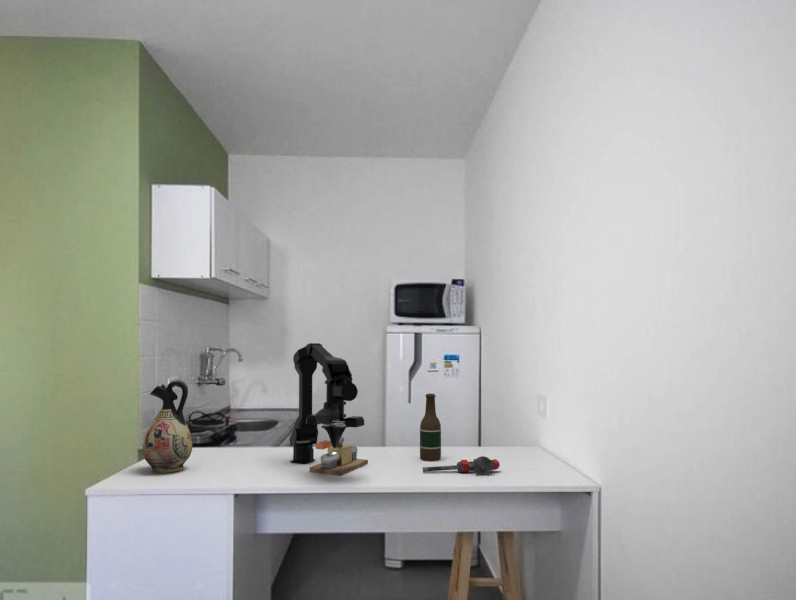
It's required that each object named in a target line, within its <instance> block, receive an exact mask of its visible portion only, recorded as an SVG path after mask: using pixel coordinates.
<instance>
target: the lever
mask: <svg viewBox="0 0 796 600" xmlns="http://www.w3.org/2000/svg"><path fill="white" fill-rule="evenodd" d="M339 442H343V443H344V442H345V437H343V436H341V439H340V441H339ZM329 447H332V443H331V440H330V439H329V440H328V439H327V440H326V439H325V440H321V441H319V442H318V441H317V443H316V444H315V449H316V450H326V449H328V448H329Z"/></svg>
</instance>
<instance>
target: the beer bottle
mask: <svg viewBox="0 0 796 600" xmlns="http://www.w3.org/2000/svg"><path fill="white" fill-rule="evenodd" d="M436 397H437V395H436V394H435V393H427V394H425V398H426V399H425V410H424V411H425V413H424V416H423V418H422V419H421V421H420V425H419V459H420V460H421V461H424V462H438V461H440V460H441V459H442V428H441V427H442V426H441V425H442V424H441V422H440V419H439V418H438V416H437V412H436Z"/></svg>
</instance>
